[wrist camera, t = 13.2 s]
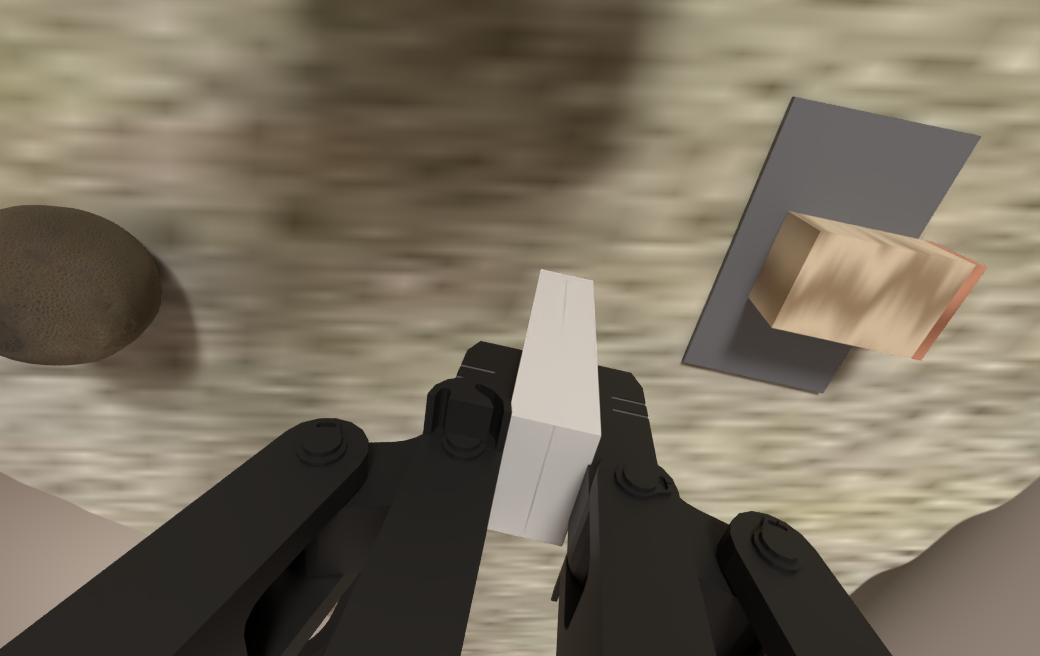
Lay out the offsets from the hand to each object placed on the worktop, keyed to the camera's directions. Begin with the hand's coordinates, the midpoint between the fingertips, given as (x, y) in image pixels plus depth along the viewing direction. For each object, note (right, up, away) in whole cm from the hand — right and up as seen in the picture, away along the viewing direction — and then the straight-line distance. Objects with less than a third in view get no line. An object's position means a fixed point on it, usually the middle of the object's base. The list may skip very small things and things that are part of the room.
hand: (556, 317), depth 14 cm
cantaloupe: (-41, +7, +35) cm, 54 cm away
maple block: (+32, +2, +24) cm, 40 cm away
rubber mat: (+24, +5, +27) cm, 37 cm away
